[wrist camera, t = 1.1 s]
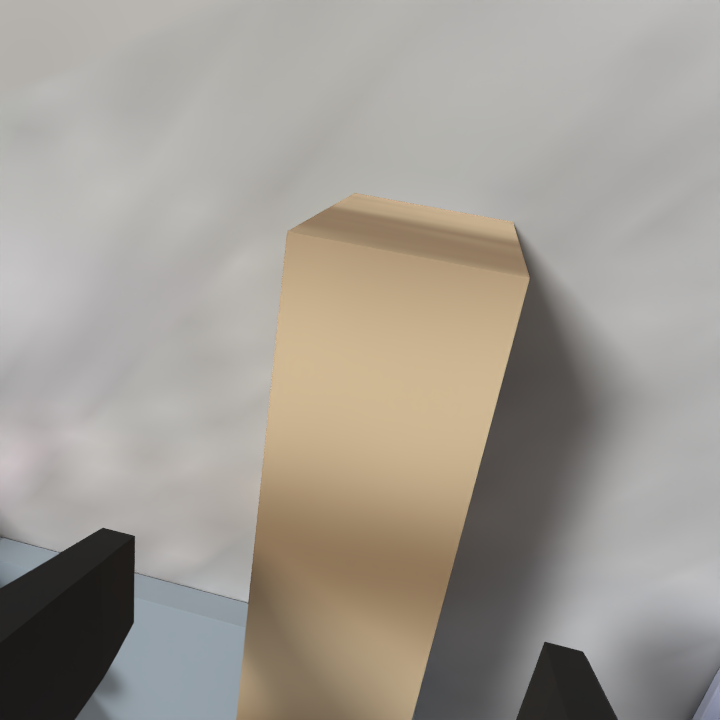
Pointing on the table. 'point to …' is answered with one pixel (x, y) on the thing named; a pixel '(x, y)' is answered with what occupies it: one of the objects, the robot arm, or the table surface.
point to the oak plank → (372, 450)
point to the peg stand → (162, 650)
